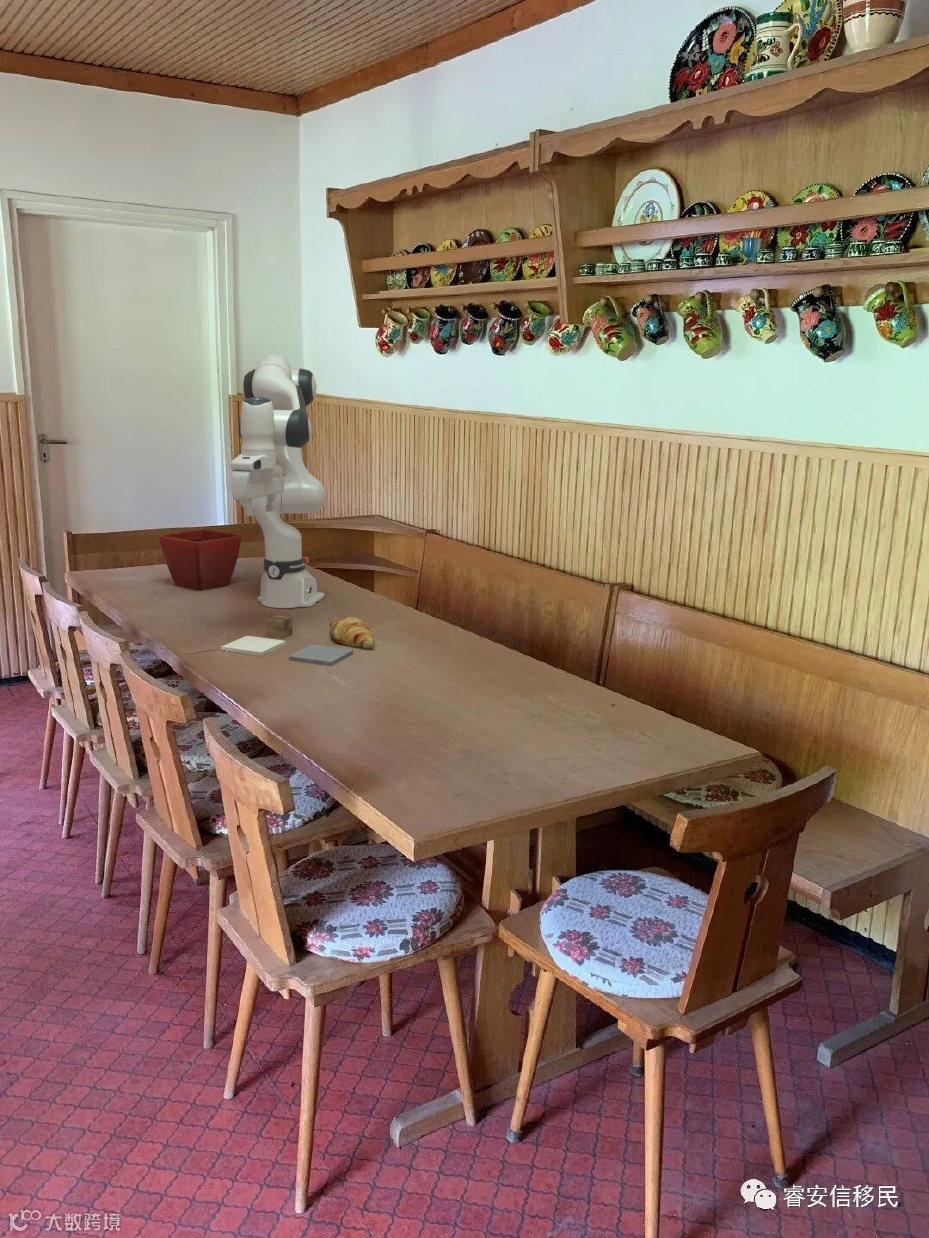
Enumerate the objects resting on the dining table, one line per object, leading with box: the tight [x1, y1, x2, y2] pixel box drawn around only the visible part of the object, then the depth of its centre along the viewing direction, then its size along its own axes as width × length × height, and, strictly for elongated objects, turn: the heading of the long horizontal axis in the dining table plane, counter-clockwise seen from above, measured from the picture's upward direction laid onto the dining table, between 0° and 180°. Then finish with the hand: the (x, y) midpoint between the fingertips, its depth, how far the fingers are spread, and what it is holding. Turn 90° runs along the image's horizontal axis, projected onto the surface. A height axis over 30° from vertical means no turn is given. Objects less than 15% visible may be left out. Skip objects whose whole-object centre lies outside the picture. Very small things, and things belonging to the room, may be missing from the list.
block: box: [266, 614, 293, 640], centre depth 276 cm, size 5×5×5 cm
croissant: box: [329, 615, 375, 649], centre depth 272 cm, size 21×10×8 cm, turn 38°
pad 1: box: [220, 635, 287, 657], centre depth 264 cm, size 12×12×1 cm
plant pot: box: [159, 529, 242, 591], centre depth 332 cm, size 19×19×17 cm
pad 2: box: [288, 643, 354, 667], centre depth 257 cm, size 12×12×1 cm
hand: (260, 513), depth 266 cm, fingers open, 8 cm apart
